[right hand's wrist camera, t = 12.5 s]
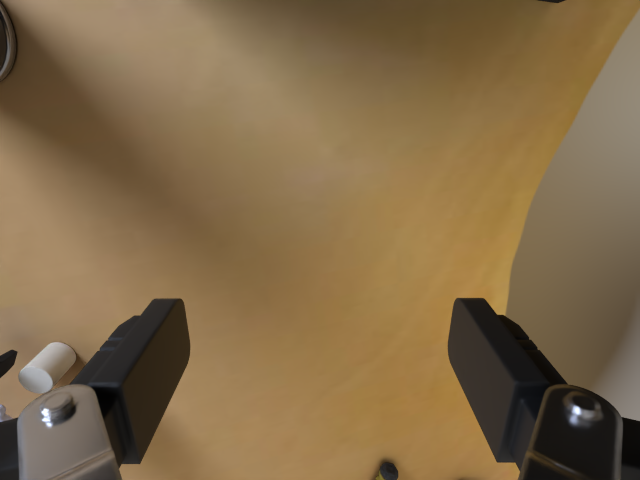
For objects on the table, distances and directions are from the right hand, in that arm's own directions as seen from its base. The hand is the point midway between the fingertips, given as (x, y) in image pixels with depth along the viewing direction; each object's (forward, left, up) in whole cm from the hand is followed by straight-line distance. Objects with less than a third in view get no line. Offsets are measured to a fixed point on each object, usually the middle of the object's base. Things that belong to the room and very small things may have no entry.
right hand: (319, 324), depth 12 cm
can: (+1, -40, -29) cm, 49 cm away
